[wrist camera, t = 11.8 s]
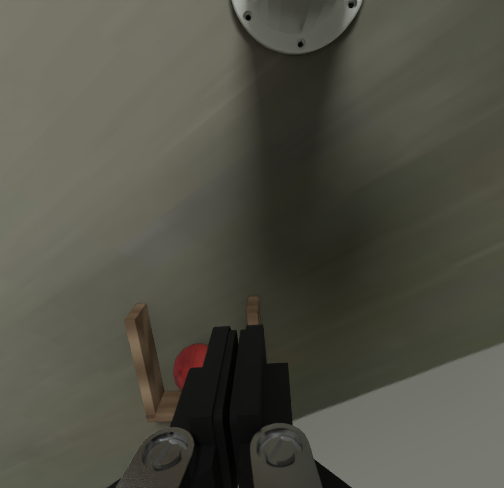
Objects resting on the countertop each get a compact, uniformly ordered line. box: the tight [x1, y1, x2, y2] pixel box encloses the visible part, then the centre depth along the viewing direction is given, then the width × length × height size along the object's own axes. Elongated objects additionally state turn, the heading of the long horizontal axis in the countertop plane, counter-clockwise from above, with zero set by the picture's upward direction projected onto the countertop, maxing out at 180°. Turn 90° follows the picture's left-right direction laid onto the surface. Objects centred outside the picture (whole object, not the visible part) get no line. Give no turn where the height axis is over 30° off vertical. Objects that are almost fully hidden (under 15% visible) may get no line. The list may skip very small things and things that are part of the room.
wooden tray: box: [124, 296, 261, 422], centre depth 44 cm, size 15×15×4 cm
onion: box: [173, 344, 208, 391], centre depth 42 cm, size 6×6×8 cm
